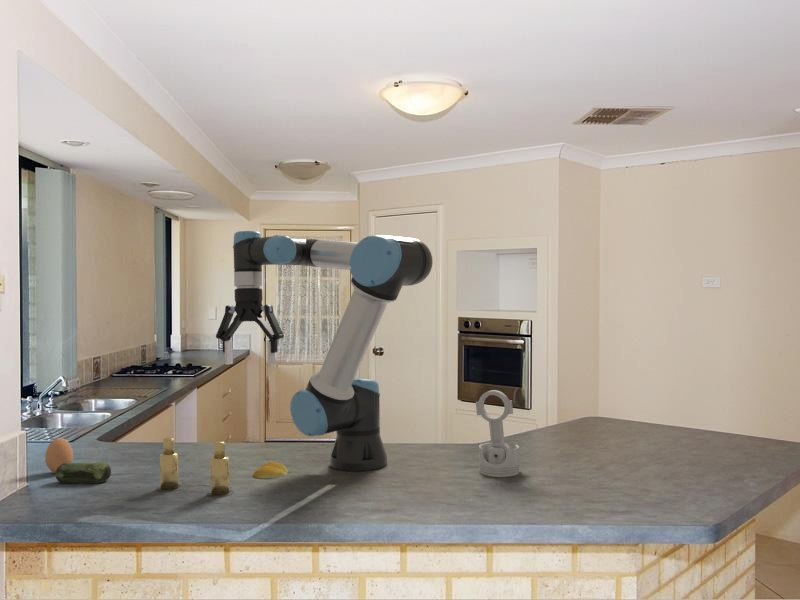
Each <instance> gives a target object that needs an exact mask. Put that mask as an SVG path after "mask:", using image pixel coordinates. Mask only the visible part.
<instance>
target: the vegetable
mask: <svg viewBox="0 0 800 600" xmlns="http://www.w3.org/2000/svg"><path fill="white" fill-rule="evenodd" d="M111 475H112V468H111V466H110V465H109V464H108V463H107V462H104V461H100V462H72V463H63V464H61V465H60V466H59V467H58V468H57V470H56V473H55V476H54V477H55V479H56V481H57V482H59V483H61V484H101V483H100V482H102V483H104V482H105V481H108V480H109V478H110V477H111Z"/></svg>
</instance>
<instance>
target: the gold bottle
mask: <svg viewBox="0 0 800 600" xmlns="http://www.w3.org/2000/svg"><path fill="white" fill-rule="evenodd" d="M209 463H210V486H211V487H210V492H211V495H213V496H223V495H227V494H229V493H230V490H231V487H230V456H228V455H226V442H225V441H224V440H217V441H214V442H213V456H212V457H210V462H209ZM229 487H230V488H229Z"/></svg>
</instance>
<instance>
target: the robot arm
mask: <svg viewBox="0 0 800 600" xmlns="http://www.w3.org/2000/svg"><path fill="white" fill-rule="evenodd" d="M232 248H233V271H234V272H233V278H234V279H233V283H234V287H236V288H235V289H234V301H235V305H232V304H231V305H225V307H224V308H225V309H224V315H223V317H222V320H221V322H220V325H219V328H218V330H217V332H216V335H215V338H216V339H219V340H221V341H222V352H223V353H224V360H225V361H224V365H227V366H228V365H233V364H234V349H233V348H234V347H233V346H234V345H233V344H234V342H233V341H234V340H232V337H233V335H234V334H235V333H236V331H237V330H238V329H239V327H240V326H241V324H242V323H244V322H255V323H256V324H257V325H258V326H259V327H260V329H261V330H262V332H263V333H264V334H265V336H266V337H267V338H268V339H269V340H268V341H266V345H267V347H266V349H267V351H266V352H267V366H275V365H276V354H277V353H278V341H279V340H281V339H283V338H284V337H285V335H284V333H283V330H282V328H281V326H280V324H279V322H278V319H277V317H276V315H275V313H274V308H273V305H272V304H265V305H263V300H264V299H263V298H264V297H263V289H262V288H261V287H263V266H270V265H271V266H272V265H273V266H274V265H277V266H278V265H279V266H302V267H303V266H305V267H306V266H307V267H318V268H325V269H326V268H327V269H333V270H334V269H337V270H343V271H344V270H345V271H350V274H351V276H352V277H351V280H350V284H351V285H352V287H353V291H352V293H351V297H350V298H349V301H348V303H347V305H346V308H345V310H344V313H343V315H342V317H341V320H340V322H339V325H338V327H337V329H336V332H335V335H334V336H333V339H332V342H331V344H330V346H329V349H328V351H327V353H326V355H325V358H324V360H323V363H322V365H321V368H320V370H319V371H317V372H314V373H313V374H312V375H311V376H310V378H309V380H308V382H307V385H306V388H305V389H304V388H303V389H300V390H298V391H296V392H295V393H294V394H293V396H292V397H291V400H290V406H289V410H290V411H289V412H290V416H291V419H292V422H293V424H294V425H295V427H296V429H297V430H298V431H299V432H300V433H302V434H303V435H305V436H308V437H317V436H319V437H320V436H324V435H327V434H331V433H334V432H336V437H335V441H334V444H333V447H332V450H331V454H330V461H329V463H330V466H331V468H333V469H335V470H341V471H349V472H356V471H357V472H359V471H370V470H376V469H380V468H383V467H385V466H387V465H388V454H387V451H386V448H385V444H384V442H383V440H382V437H381V427H380V426H381V423H380V422H381V420H380V419H381V417H380V415H381V414H380V413H381V409H380V406H381V405H380V404H381V403H380V396H381V393H380V385H379V383H378V381H377V380H375V379H369V378H356V376H357V374H358V371H359V369H360V367H361V364H362V362H363V360H364V358H365V355H366V354H367V351H368V348H369V347H370V344H371V341H372V339H373V338H374V335H375V334H376V333H375V332H376V331H377V328H378V326H379V325H380V321H381V319H382V316H383V315H384V312H385V310H386V308H387V305H388V304H391V303H392V302H395V301H396V300H397V299H398V297H399V295H400V292H401V290H402V288H403V287H405V286H407V287H408V286H414V285H417V284H420V283H422V282H423V281H425V280H426V279H427V277H428V276H429V274H430V273H431V272H432V269H433V261H434V260H433V256H432V255H433V254H432V252H431V250H430V248H429V247H428V245H426V244H425V243H424V242H423V241H421V240H420V239H417V238H414V237H407V236H406V237H404V236H397V235H396V236H393V235H390V234H373V235H368V236H366V237H364V238H362V239H361V240H360V241H358V242H356V241H355V242H353V241H341V240H326V239H325V240H323V239H315V238H298V237H297V238H296V237H289V236H288V235H279V234H277V235H276V234H275V235H272V236H264V237H262V234H261V232H260V231H257V230H241V231H240V230H239V231H236V232H235V233H234V235H233V245H232ZM235 313H236V315H235V316H234V314H235ZM262 313H264V315H265V317H266V318H265V317H264V316H263V314H262ZM233 317H234V318H233ZM232 319H233V320H232ZM266 319H267V321H266Z"/></svg>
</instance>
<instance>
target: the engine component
mask: <svg viewBox="0 0 800 600" xmlns="http://www.w3.org/2000/svg"><path fill="white" fill-rule="evenodd" d="M490 396H495V397H498V398H500V399H501V401H502V403H503V404H504V405H503V407H504V408H503V409H504V410H503V413H502V415H500V416H497V417H496V416H495V417H494V416H491V415H490V414H489V413H487V411H486V409H485V402H486V399H487V398H488V397H490ZM475 408H476V409H475V410H476V411H475V412H476V415H477V416H481V418H483V419H484V420H485V421H487V422H488V423H489V424H488V425H489V435H490V442H485V443H484V442H483V443H481V444H479V445H478V459H479V461H478V462H479V463H478V464H479V466H478V467H479V468H478V469H479V473H480V474H481V475H484V476H488V477H493V478H495V477H496V478H503V477H504V478H508V477H514V476H517V475H518V474H520V446H519V445H518V444H515V445H514V447H513V449H512V448H511V447H510V446H509V443H506V442H505V433H504V426H503V425H504V424H503V423H504V422H503V420H505V419H507V417H508V416H509V415H512V414H514V407H513V400H511V399H509V397H508V395H506V394H505V393H504V392H502V391H501V390H497V389H494V390H493V389H491V390H488V391H486V392H484V393H483V394H482V395H480V396H479V400H478V401H476V402H475Z"/></svg>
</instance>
